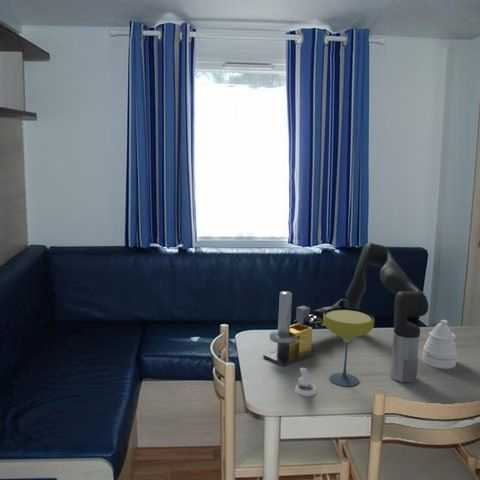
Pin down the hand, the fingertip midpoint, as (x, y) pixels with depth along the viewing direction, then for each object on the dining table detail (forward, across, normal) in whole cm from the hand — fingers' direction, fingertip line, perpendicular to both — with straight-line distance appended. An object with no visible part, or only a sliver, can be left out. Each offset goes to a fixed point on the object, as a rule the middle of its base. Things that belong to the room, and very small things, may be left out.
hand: (298, 324), depth 231 cm
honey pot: (-32, +47, +10) cm, 58 cm away
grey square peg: (-3, 0, +9) cm, 9 cm away
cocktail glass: (+12, +33, +9) cm, 37 cm away
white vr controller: (+29, +30, +10) cm, 43 cm away
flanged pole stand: (+11, +6, +9) cm, 16 cm away
